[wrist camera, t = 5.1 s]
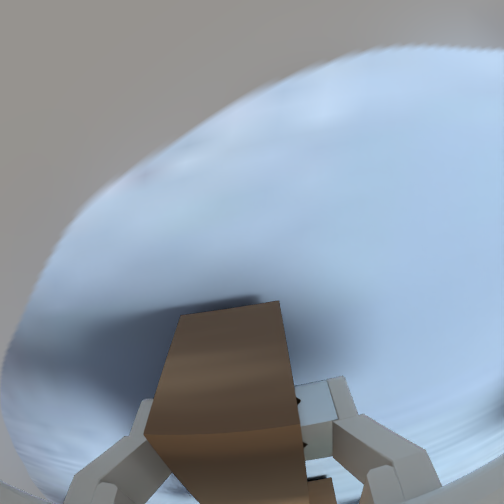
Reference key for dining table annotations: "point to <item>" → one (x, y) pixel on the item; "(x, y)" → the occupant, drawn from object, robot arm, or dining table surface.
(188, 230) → the dining table surface
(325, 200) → the dining table surface
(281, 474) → the push stick
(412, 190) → the dining table surface
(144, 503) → the robot arm
